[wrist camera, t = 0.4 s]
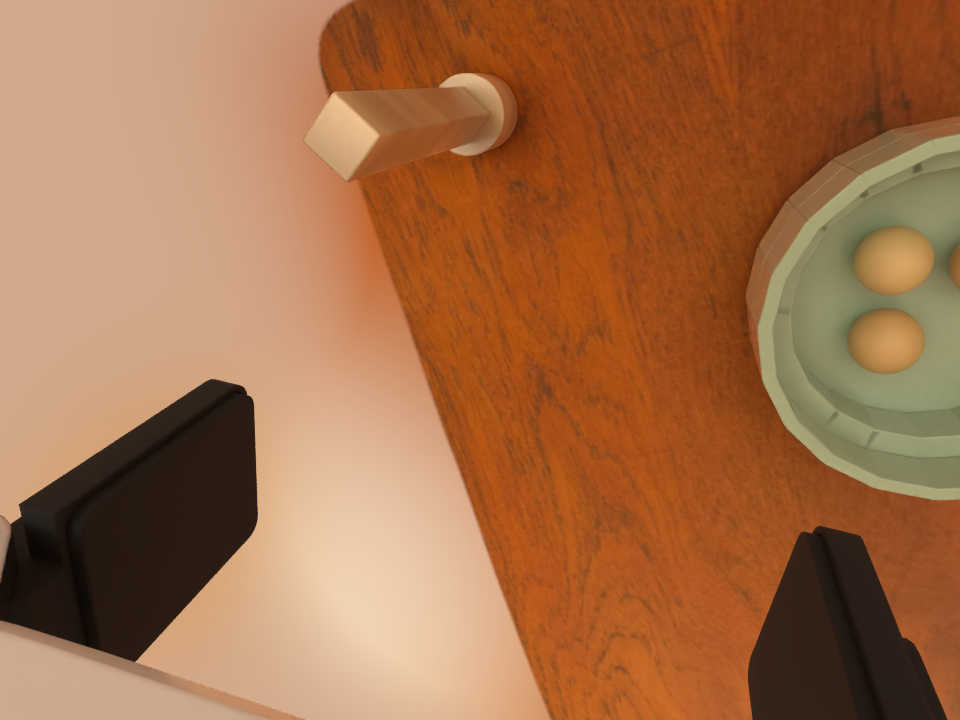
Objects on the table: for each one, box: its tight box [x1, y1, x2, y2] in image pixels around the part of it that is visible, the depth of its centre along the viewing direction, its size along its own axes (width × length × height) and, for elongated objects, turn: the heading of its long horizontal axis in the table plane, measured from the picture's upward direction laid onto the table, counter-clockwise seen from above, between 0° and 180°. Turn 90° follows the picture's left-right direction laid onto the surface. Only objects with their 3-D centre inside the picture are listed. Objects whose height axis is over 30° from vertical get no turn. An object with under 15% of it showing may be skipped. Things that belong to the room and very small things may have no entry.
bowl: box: [746, 116, 960, 500], centre depth 29 cm, size 15×15×6 cm
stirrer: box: [303, 73, 518, 182], centre depth 26 cm, size 4×4×16 cm
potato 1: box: [853, 225, 934, 295], centre depth 29 cm, size 3×3×3 cm
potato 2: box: [848, 308, 925, 374], centre depth 30 cm, size 3×3×3 cm
